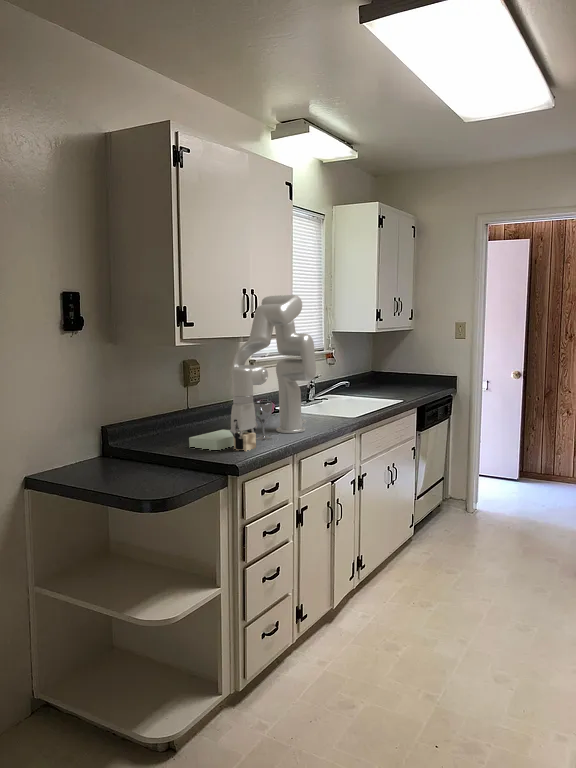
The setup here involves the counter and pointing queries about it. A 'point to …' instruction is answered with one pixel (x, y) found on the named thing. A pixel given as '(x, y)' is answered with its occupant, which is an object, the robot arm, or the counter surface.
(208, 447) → the sage stand
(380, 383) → the counter surface
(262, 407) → the wine glass
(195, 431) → the counter surface
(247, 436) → the maple cube
